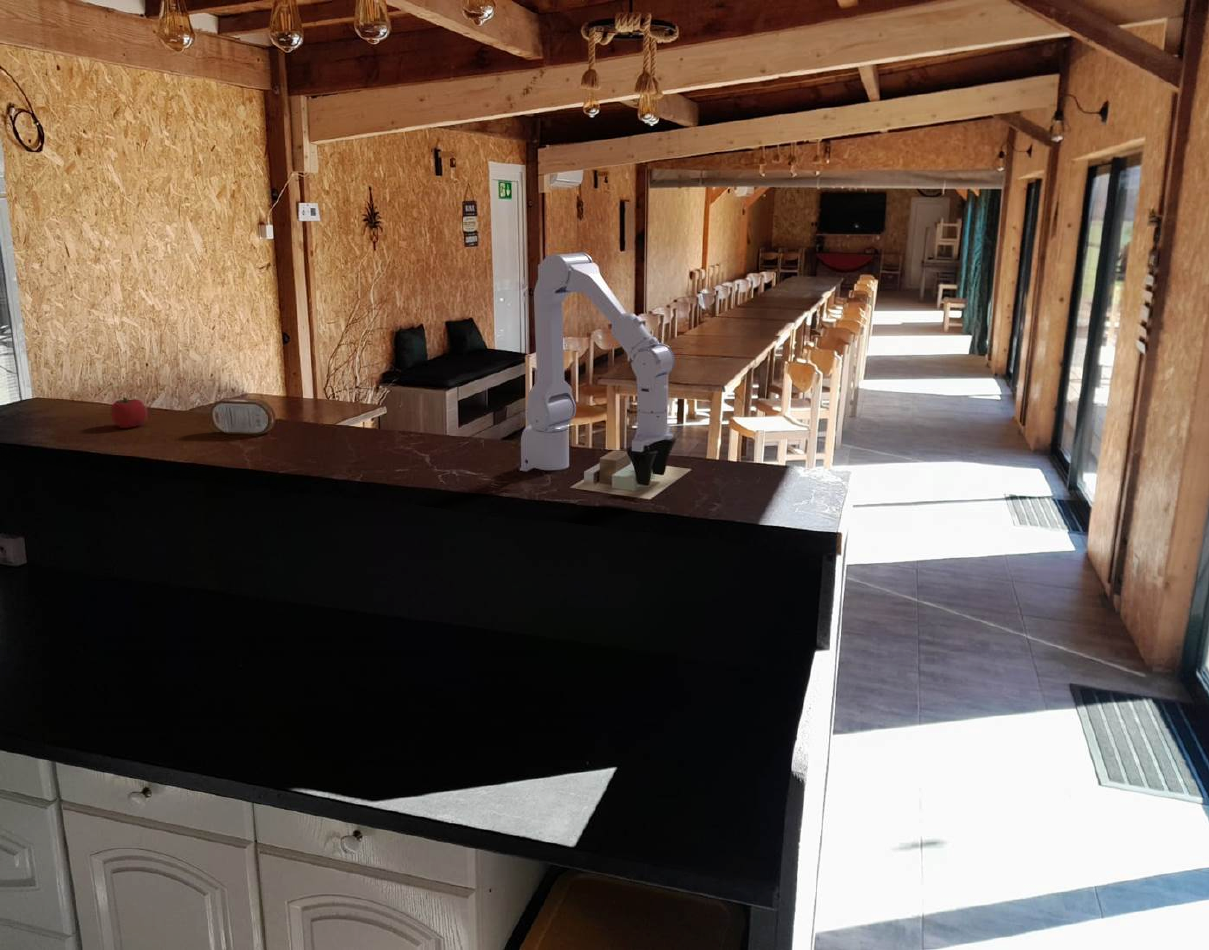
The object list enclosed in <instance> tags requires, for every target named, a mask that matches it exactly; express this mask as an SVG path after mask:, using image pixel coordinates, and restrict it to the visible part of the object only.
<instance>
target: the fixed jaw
mask: <svg viewBox="0 0 1209 950" xmlns="http://www.w3.org/2000/svg"><path fill="white" fill-rule="evenodd" d="M599 471H600V462H599V463H597V464H595V465H594V466H592V467H590V468H588V469H586V470H585V471H584V472H583V480H584V484H586V485H593V486H594V485H595V484H597V483H599Z"/></svg>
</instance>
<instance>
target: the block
mask: <svg viewBox="0 0 1209 950" xmlns="http://www.w3.org/2000/svg"><path fill="white" fill-rule="evenodd" d="M599 463H600V471H599V483H602V484H608V485H612V475H613V474H615V473H616V472H618V471H620V470H621V469H623V468H625V467H626V466H628V465H630V464H631V459H630V458H629V456H628V454H627V450H618V449H614V450H612V451H610V452H608V453H606V454H605V455H603V456H601V457H599Z"/></svg>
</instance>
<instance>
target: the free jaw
mask: <svg viewBox="0 0 1209 950" xmlns="http://www.w3.org/2000/svg"><path fill="white" fill-rule="evenodd" d="M654 475H655V474H653V471H652V472H651V479H653V478H654ZM651 479H650V480H651ZM641 486H642V485H639V484H638V483H637V479H636V475H635V470H634V467H633V464H632V463H631V464H630V465H628V466H626V467H625V468H623V469H621V470H620V471H618V472H616V473H615V474H613V475H612V488H617V489H624V490H631V491H635V490H636V489H638V488H639V487H641Z"/></svg>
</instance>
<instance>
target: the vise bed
mask: <svg viewBox="0 0 1209 950" xmlns="http://www.w3.org/2000/svg"><path fill="white" fill-rule="evenodd" d="M631 463H632V462H631ZM690 471H692V469H691V468H683V467H675V466H669V465H667V466H666V470H665V473H664V475H657V474H655V475H654V478H653V479H651V480H650V483H649V485H648V486H646V485H642V486H641V487H639V488H638V489H636V490H635V491H631V490H624V489H617V488H612V485H608V484H602V483H597V484H595V485H594V486H593V485H586V484H584V479H582V480H580V481H579V482H577V483H575V484H573V485H571V486H570V487H569V488H570V489H578V490H584V491H585V490H586V491H590V492H591V491H592V492H598V493H604V494H611V495H617V496H618V495H619V496H625V497H632V498H638V499H645V500H651V499H653V498H654V497H656V496H657V495H659V494H660V493H661V492H663V491H664V490H665V489H667V488H668V487H669V486H670V485H672V484H674V483H675V482H676V481H678V480H679V479H681V478H682V477H683V476H685V475H686V474H687V473H689V472H690ZM570 493H571V494H572V493H573V494H574V492H572V491H570ZM577 494H579V495H581V493H579V492H577ZM584 495H587V496H588V494H586V493H584ZM590 496H593V497H594V494H593V495H591V494H590ZM597 497H599V498H601V496H599V495H597ZM604 498H606V499H608V497H605V496H604ZM610 499H613V500H614V498H613V497H611V498H610ZM617 500H619V501H621V499H620V498H619V499H618V498H617ZM623 501H625V502H627V499H623Z"/></svg>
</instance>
